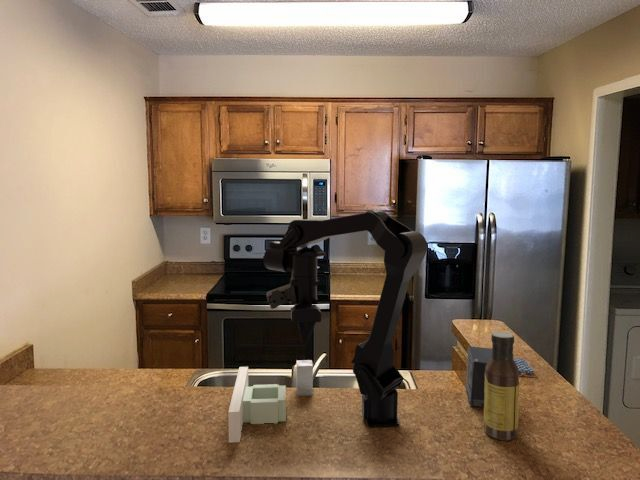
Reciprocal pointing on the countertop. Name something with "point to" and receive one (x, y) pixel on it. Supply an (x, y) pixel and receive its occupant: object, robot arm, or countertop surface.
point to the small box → (476, 374)
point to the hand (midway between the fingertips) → (303, 341)
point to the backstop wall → (237, 406)
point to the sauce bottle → (501, 389)
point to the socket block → (264, 404)
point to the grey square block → (304, 377)
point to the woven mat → (524, 368)
